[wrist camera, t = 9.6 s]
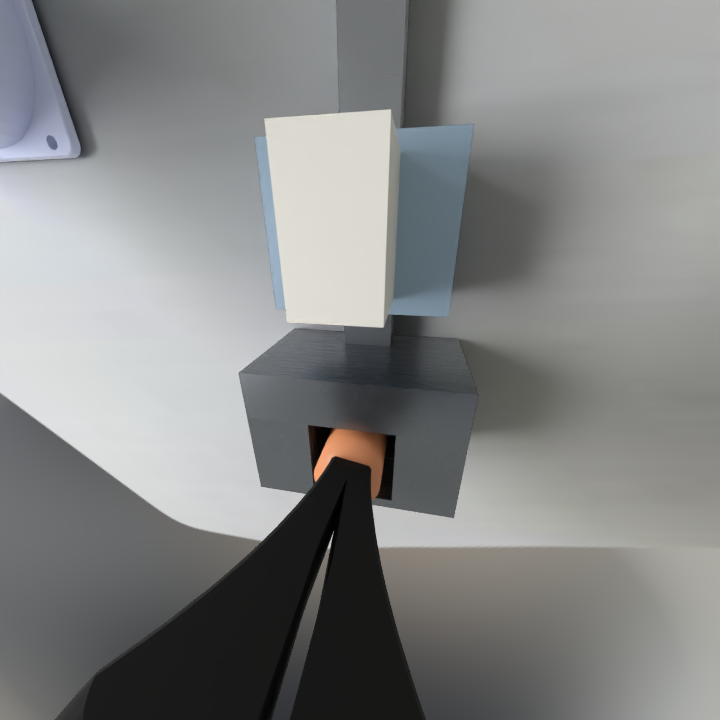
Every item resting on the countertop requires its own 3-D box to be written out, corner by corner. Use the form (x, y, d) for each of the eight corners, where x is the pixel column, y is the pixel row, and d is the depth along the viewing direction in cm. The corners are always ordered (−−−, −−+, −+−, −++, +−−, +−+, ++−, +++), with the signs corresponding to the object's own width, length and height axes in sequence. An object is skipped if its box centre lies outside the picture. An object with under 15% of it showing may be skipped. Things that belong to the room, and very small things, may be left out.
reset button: (341, 432, 14) (316, 499, 11) (340, 391, 13) (311, 450, 10) (389, 438, 14) (379, 510, 10) (391, 395, 13) (381, 459, 9)
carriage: (307, 291, 13) (225, 336, 8) (296, 161, 11) (174, 92, 5) (441, 296, 12) (460, 352, 7) (457, 154, 10) (507, 60, 4)
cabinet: (303, 417, 17) (261, 486, 12) (294, 328, 14) (238, 373, 10) (445, 434, 15) (456, 518, 11) (460, 338, 13) (482, 395, 9)
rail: (352, 341, 14) (345, 353, 13) (341, -422, 6) (321, -591, 5) (392, 344, 14) (389, 356, 12) (432, -456, 6) (436, -648, 5)
